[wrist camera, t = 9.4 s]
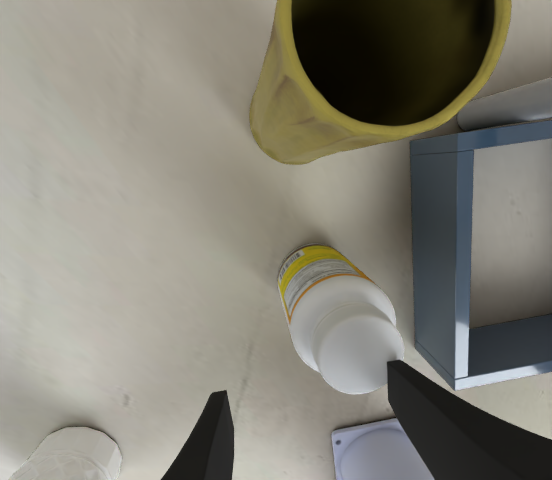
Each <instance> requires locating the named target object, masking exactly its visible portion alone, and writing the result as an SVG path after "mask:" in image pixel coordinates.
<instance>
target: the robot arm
mask: <svg viewBox="0 0 552 480" xmlns="http://www.w3.org/2000/svg"><path fill="white" fill-rule="evenodd" d="M387 381H388V400H389V403H390V405H391V407H392V409H393V411H394V413H395V415H396V417H397V418H394V419H389V420H384V421H379V422H374V423H369V424H364V425H359V426H354V427H349V428H344V429H339V430H335V431H333V432H332V434H331V438H332V446H333V455H334V464H335V473H336V480H552V440H551V439H548V438H545V437H542V436H540V435H537V434H535V433H532V432H529V431H527V430H525V429H522V428H520V427H517V426H515V425H513V424H510V423H508V422H506V421H504V420H501V419H499V418H497V417H495V416H493V415H491V414H489V413H487V412H485V411H483V410H481V409H479V408H477V407H475V406H473V405H471V404H470V403H468V402H466V401H464V400H462V399H461V398H459V397H457V396H456V395H454V394H452V393H450V392H449V391H447V390H446V389H444V388H442V387H441V386H439V385H438V384H436V383H435V382H433V381H431V380H430V379H428V378H427V377H425V376H424V375H422V374H421V373H419V372H418V371H416V370H415V369H414V368H412V367H411V366H409V365H408V364H406V363H405V362H403V361H402V360H400V359H399V360H394V361H388V362H387ZM337 440H339V441H337ZM233 461H234V426H233V421H232V416H231V411H230V406H229V401H228V396H227V391H226V390H224V391H218V392H213V393H212V394H211V395H210V397H209V399H208V401H207V403H206V406H205V408H204V410H203V412H202V414H201V416H200V418H199V420H198V421H197V423H196V425H195V427H194V429H193V431H192V432H191V434H190V436H189V438H188V439H187V441H186V443H185V444H184V446H183V448H182V449H181V451H180V452H179V454H178V456H177V457H176V459H175V460H174V462H173V463H172V465H171V466H170V468H169V469H168V471H167V472H166V473H165V475H164V476H163V477H162V479H161V480H232V472H233Z"/></svg>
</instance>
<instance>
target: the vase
mask: <svg viewBox="0 0 552 480" xmlns="http://www.w3.org/2000/svg"><path fill="white" fill-rule="evenodd" d="M511 6H512V3H511V0H277V3H276V9H275V15H274V22H273V27H272V32H271V37H270V41H269V45H268V49H267V52H266V56H265V59H264V63H263V67H262V71H261V74H260V78H259V81H258V85H257V89H256V91H255V93H254V95H253V98H252V101H251V105H250V112H249V119H250V127H251V130H252V133H253V136H254V138H255V140H256V142H257V144H258V145H259V147H260V148H261V149H262V150H263V151H264V152H265V153H266V154H267V155H268V156H270V157H271V158H273V159H275V160H276V161H278V162H281V163H284V164H294V165H300V164H306V163H309V162H311V161H314V160H316V159H317V158H320V157H323V156H327V155H330V154H334V153H337V152H340V151H348V150H353V149H358V148H363V147H367V146H372V145H376V144H380V143H386V142H392V141H397V140H401V139H403V138H406V137H409V136H412V135H416V134H419V133H422V132H426V131H430V130H433V129H435V128H437V127H439V126H440V125H442V124H444V123H446V122H447V121H449V120H450V119H451V118H452V117H453V116H455V115H456V114H457V113H458V112H459V111H460V110H461V109H462V108H463V107H464V106H465V105H466V104H467V103H468V102H469V101H470V100H471V99H472V98H473V97H474V96H475V95H476V94H477V93H478V92H479V91H480V90H481V88H482V87H483V86H484V85H485V84H486V82H487V81H488V79H489V78H490V76H491V74H492V72H493V70H494V69H495V67H496V64H497V62H498V60H499V57H500V55H501V53H502V50H503V47H504V44H505V41H506V37H507V33H508V29H509V24H510V17H511Z"/></svg>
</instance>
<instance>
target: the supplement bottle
mask: <svg viewBox="0 0 552 480" xmlns="http://www.w3.org/2000/svg"><path fill="white" fill-rule="evenodd" d="M277 285H278V290H279V294H280V298H281V301H282V305H283V309H284V313H285V316H286V320H287V324H288V327H289V331H290V335H291V339H292V342H293V345H294V348H295V350H296V352H297V353H298V355H299V356H300V358H301V359H302V360H303V361H304V362H305V363H306V364H307V365H308V366H309V367H311V368H312V369H314V370H316V371H317V372H320V374H321V375H322V377H323V379H324V380H325V381H326V382H327V383H328V384H329V385H330V386H331V387H333V388H334V389H336V390H338V391H340V392H343V393H347V394H365V393H369V392H372V391H375V390H377V389H379V388H381V387H382V386H384V385H385V384H387V383H388V381H387V362H388V361H394V360H399V359H400V360H402V361H403V357H404V343H403V339H402V337H401V335H400V332H399V331H398V329H397V328H396V316H395V311H394V308H393V305H392V303H391V301H390V300H389V298H388V297H387V295H386V294H385V293H384V292H383V291H382V290H381V289H380V288H379V287H378V286H377V285H376V284H375V283H374V282H373V281H371V280H370V279H369V278H368V277H367V276H366V275H365V274H364V273H363V272H362V271H360V270H359V269H358V268H357V267H356V266H354V265H353V264H352V263H351V262H350V261H349V260H348V259H346V258H345V257H344V256H343V255H342V254H341V253H340V252H338V251H337V250H335V249H334V248H332V247H330V246H327V245H324V244H307V245H303V246H301V247H298V248H297V249H295V250H293V251H292V252H291V253H290V254H288V255H287V257H286V258H285V259H284V260H283V262H282V264H281V266H280V268H279V271H278V276H277Z"/></svg>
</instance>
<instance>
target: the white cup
mask: <svg viewBox="0 0 552 480" xmlns="http://www.w3.org/2000/svg"><path fill="white" fill-rule="evenodd" d="M121 463H122V456H121V453H120V451H119V448H118V446H117V444H116V443H115V442H114V441H113V440H112V439H111V438H110V437H108V436H107V435H106V434H105V433H103V432H100V431H97V430H94V429H91V428H88V427H66V428H63V429H61V430H58V431H56V432H54V433H52V434H49V435H47V436H46V438H45V439H44V440H43V441H42V442H41V443H40V445H39V446H38V447H37V448H36V449H35V451H34V452H33V453H32V454H31V456H30V457H29V458H28V459H27V461H26V462H25V463H24V464H23V465H22V466H21V467H20V469H18V470H17V471H16V472H15V473H13V475H12V476H11V477H10V478H9V480H117V478H118V476H119V472H120V468H121Z"/></svg>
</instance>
